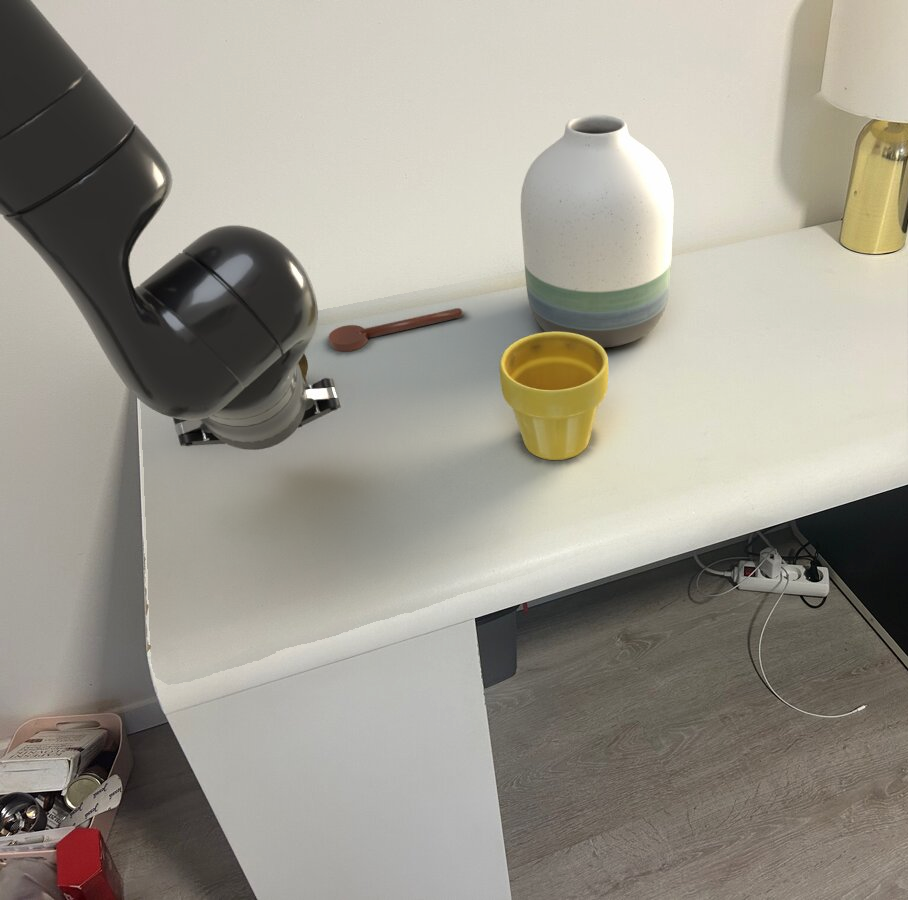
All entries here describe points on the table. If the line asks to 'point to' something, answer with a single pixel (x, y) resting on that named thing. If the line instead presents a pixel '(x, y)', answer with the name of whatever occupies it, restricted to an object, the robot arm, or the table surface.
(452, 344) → the table surface
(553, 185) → the vase
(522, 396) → the flower pot
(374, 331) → the wooden spoon
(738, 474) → the table surface
